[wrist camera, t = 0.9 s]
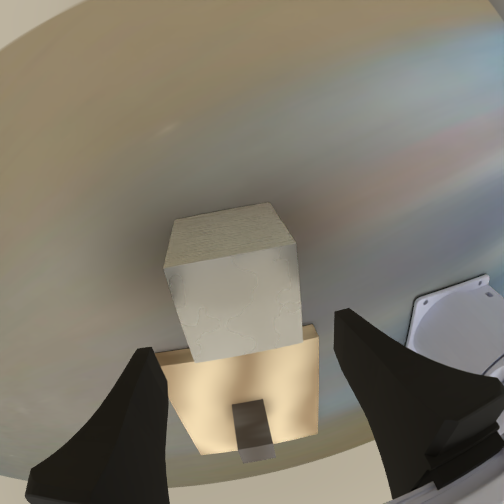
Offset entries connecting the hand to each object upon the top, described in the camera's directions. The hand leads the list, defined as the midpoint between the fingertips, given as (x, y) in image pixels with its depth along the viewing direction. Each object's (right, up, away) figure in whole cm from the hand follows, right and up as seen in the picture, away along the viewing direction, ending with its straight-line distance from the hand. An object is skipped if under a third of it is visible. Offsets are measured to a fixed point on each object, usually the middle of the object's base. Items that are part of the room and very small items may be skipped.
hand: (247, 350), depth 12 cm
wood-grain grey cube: (-1, +4, +8) cm, 9 cm away
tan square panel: (0, -9, +14) cm, 17 cm away
